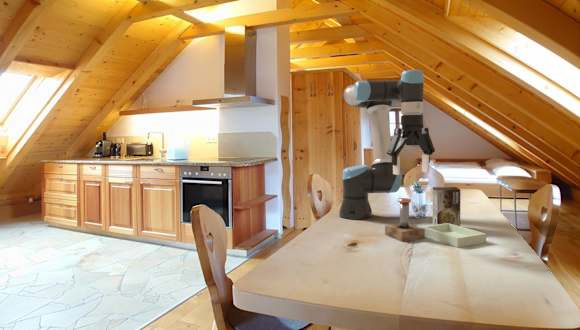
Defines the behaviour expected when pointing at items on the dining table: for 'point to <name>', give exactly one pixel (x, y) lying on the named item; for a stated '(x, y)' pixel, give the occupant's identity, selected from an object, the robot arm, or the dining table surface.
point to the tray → (454, 235)
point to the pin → (404, 212)
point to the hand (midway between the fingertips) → (411, 173)
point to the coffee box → (446, 205)
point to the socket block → (404, 232)
